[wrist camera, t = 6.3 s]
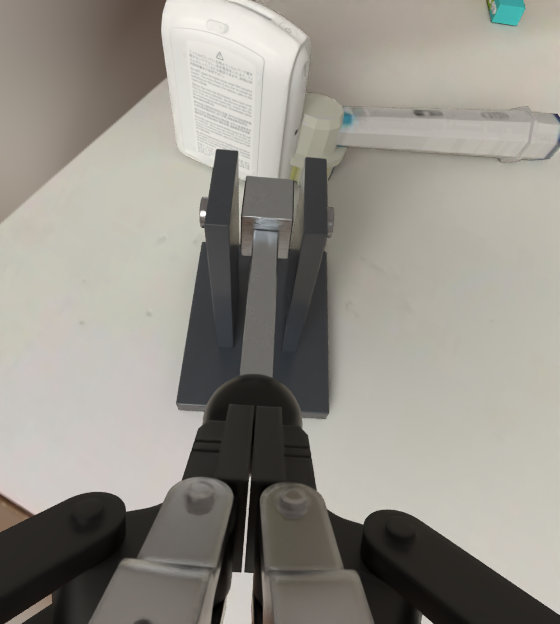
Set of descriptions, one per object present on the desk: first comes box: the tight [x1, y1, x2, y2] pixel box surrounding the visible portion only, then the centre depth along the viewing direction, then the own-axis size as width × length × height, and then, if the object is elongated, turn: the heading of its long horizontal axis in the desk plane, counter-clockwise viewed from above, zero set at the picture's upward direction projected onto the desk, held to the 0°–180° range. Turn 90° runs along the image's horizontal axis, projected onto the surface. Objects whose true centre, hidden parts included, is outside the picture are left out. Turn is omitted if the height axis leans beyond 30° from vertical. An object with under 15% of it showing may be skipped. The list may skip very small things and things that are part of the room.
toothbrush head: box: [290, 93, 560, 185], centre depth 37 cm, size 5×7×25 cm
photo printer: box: [161, 0, 311, 181], centre depth 32 cm, size 10×4×12 cm, turn 65°
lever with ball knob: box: [203, 176, 302, 477], centre depth 17 cm, size 13×3×3 cm, turn 178°
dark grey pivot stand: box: [176, 149, 334, 419], centre depth 24 cm, size 12×9×13 cm
